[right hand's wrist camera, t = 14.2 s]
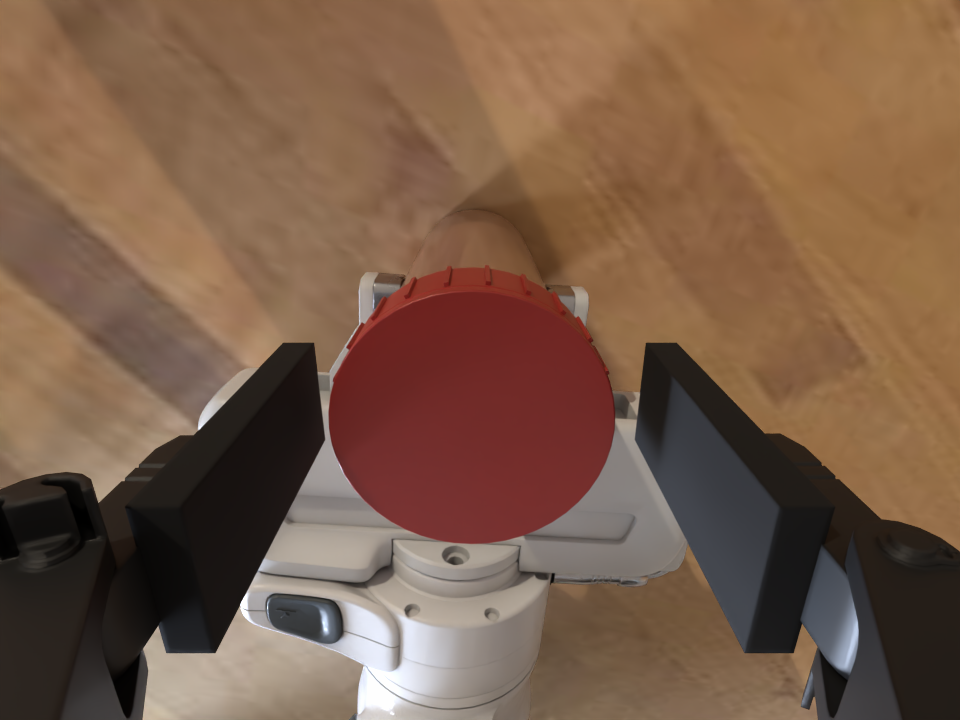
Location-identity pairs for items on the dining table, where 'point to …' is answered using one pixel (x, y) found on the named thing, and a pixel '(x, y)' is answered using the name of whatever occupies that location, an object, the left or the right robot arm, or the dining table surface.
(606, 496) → the left robot arm
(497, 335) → the lid
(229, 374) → the dining table surface
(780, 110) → the dining table surface
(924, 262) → the dining table surface
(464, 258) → the jar
